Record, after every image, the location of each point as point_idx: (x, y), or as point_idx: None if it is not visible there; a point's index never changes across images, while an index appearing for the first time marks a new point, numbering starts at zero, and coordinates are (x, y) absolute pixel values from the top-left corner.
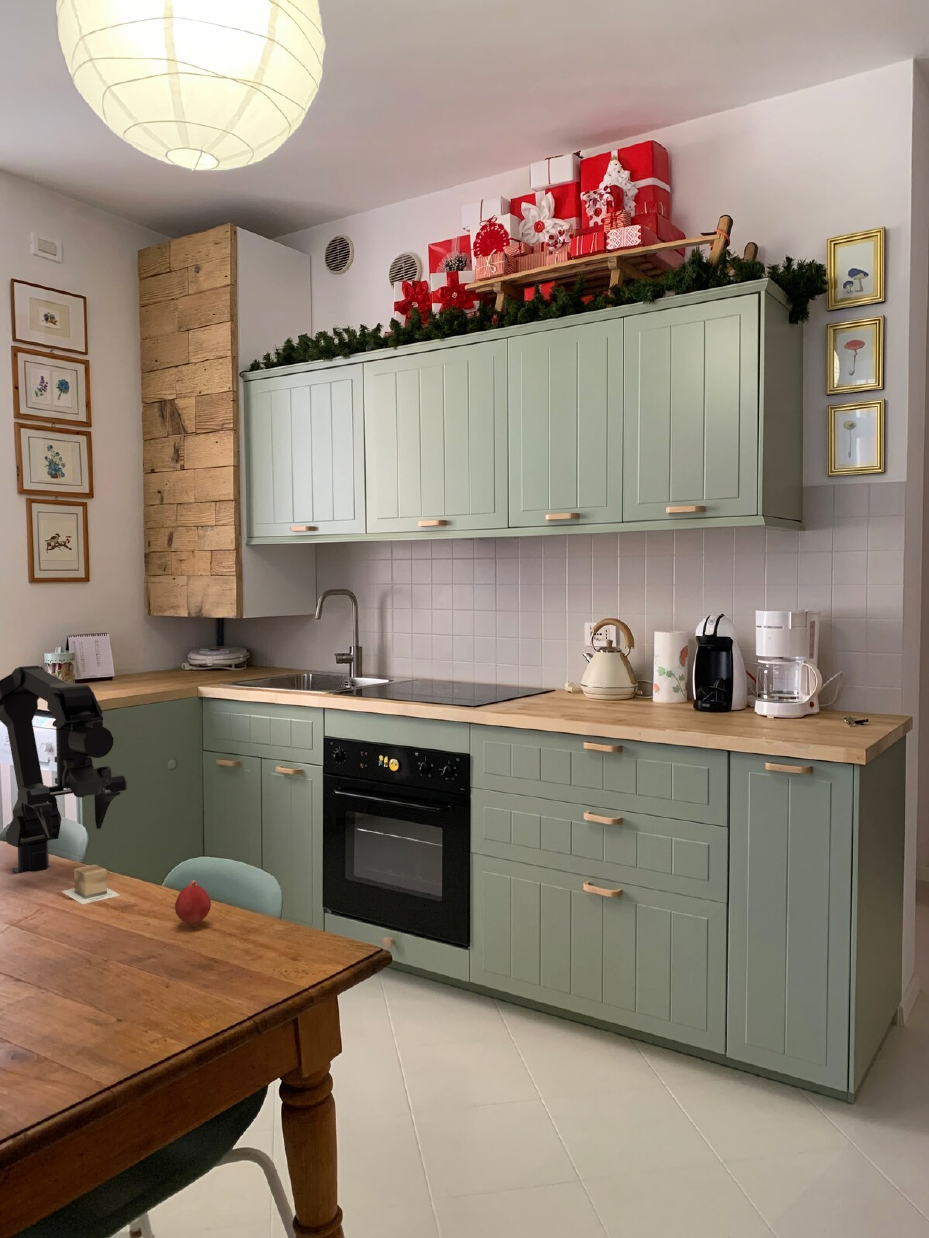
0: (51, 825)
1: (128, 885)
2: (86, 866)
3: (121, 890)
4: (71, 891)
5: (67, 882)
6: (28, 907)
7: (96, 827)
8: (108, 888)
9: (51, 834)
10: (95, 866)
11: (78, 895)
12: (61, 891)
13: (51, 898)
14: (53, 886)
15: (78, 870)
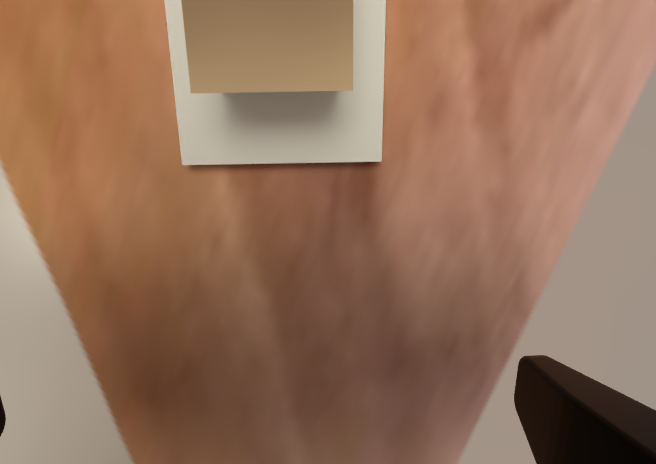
0: (622, 433)
1: (41, 89)
2: (263, 82)
3: (98, 27)
4: (344, 118)
5: (275, 342)
6: (553, 104)
7: (3, 428)
8: (167, 17)
9: (547, 368)
10: (209, 31)
11: None
12: (381, 158)
13: (421, 163)
14: (343, 328)
15: (345, 21)
